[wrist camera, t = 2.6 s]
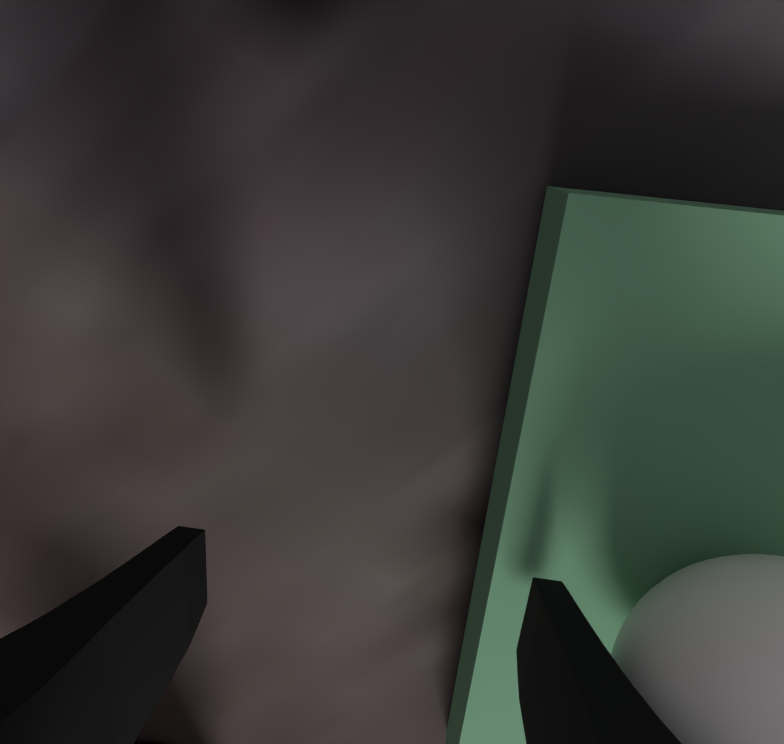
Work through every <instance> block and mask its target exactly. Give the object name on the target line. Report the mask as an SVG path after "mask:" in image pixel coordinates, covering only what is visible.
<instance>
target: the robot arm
mask: <svg viewBox="0 0 784 744" xmlns="http://www.w3.org/2000/svg"><path fill="white" fill-rule="evenodd" d="M206 605H207V578H206V545H205V530H202V529H195V528H188V527H181V526H178V527H176V528H175V529H173V530H172V531H170V532H169V533H167V534H166V535H165V536H163V537H162V538H160V539H159V540H157V541H156V542H155V543H153V544H152V545H150V546H149V547H148V548H146V549H145V550H143V551H142V552H140V553H139V554H138V555H136V556H135V557H133V558H132V559H130V560H129V561H128V562H126V563H125V564H123V565H122V566H120V567H119V568H117V569H116V570H114V571H113V572H111V573H110V574H108V575H107V576H106V577H104V578H103V579H101V580H100V581H98V582H97V583H95V584H93V585H92V586H90V587H89V588H87V589H85V590H84V591H82V592H81V593H79V594H77V595H76V596H74V597H73V598H71V599H69V600H68V601H66V602H65V603H63V604H61V605H60V606H58V607H57V608H55V609H53V610H52V611H50V612H48V613H47V614H45V615H43V616H41V617H40V618H38V619H36V620H34V621H32V622H31V623H29V624H27V625H25V626H23V627H22V628H20V629H18V630H16V631H14V632H12V633H10V634H8V635H6V636H4V637H3V638H1V639H0V744H134V742H135V741H136V739H137V737H138V735H139V734H140V732H141V730H142V728H143V727H144V725H145V723H146V721H147V720H148V718H149V716H150V714H151V713H152V711H153V709H154V707H155V706H156V704H157V702H158V700H159V699H160V697H161V695H162V693H163V692H164V690H165V688H166V686H167V685H168V683H169V681H170V679H171V678H172V676H173V674H174V672H175V671H176V669H177V667H178V665H179V663H180V662H181V660H182V658H183V656H184V655H185V653H186V651H187V649H188V647H189V645H190V643H191V640H192V638H193V636H194V634H195V631H196V629H197V627H198V624H199V622H200V619H201V617H202V614H203V612H204V609H205V607H206ZM516 654H517V675H518V691H519V702H520V708H521V715H522V721H523V727H524V733H525V739H526V744H682V743H681V742H680V741H679V740H678V739H677V738H676V737H675V736H674V734H673V733H672V732H671V731H670V730H669V729H668V728H667V727H666V725H665V724H664V723H663V722H662V721H661V720H660V718H659V717H658V716H657V715H656V714H655V712H654V711H653V710H652V709H651V707H650V706H649V705H648V704H647V702H646V701H645V700H644V698H643V697H642V696H641V695H640V693H639V692H638V691H637V690H636V688H635V687H634V686H633V684H632V683H631V682H630V680H629V679H628V678H627V676H626V675H625V674H624V672H623V671H622V670H621V668H620V667H619V665H618V664H617V663H616V661H615V660H614V658H613V657H612V656H611V654H610V653H609V651H608V650H607V649H606V647H605V646H604V644H603V643H602V641H601V640H600V638H599V637H598V636H597V634H596V633H595V631H594V630H593V628H592V626H591V625H590V623H589V622H588V620H587V619H586V617H585V616H584V614H583V613H582V611H581V610H580V608H579V607H578V605H577V603H576V602H575V600H574V599H573V597H572V596H571V594H570V592H569V591H568V589H567V588H566V586H565V585H564V584H563V582H562V581H556V580H549V579H542V578H535V577H533V579H532V583H531V588H530V592H529V596H528V601H527V605H526V610H525V614H524V618H523V623H522V627H521V631H520V636H519V640H518V645H517V649H516Z"/></svg>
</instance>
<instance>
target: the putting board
mask: <svg viewBox="0 0 784 744" xmlns="http://www.w3.org/2000/svg"><path fill="white" fill-rule="evenodd" d="M739 554H767V555H778V556H784V211H781V210H772V209H762V208H752V207H743V206H733V205H724V204H714V203H705V202H695V201H685V200H676V199H666V198H657V197H647V196H637V195H628V194H618V193H609V192H599V191H590V190H580V189H570V188H561V187H551V186H547V189H546V195H545V200H544V206H543V211H542V216H541V222H540V227H539V233H538V238H537V243H536V249H535V254H534V260H533V265H532V270H531V276H530V281H529V287H528V292H527V297H526V303H525V308H524V314H523V319H522V325H521V330H520V335H519V341H518V346H517V352H516V357H515V362H514V368H513V373H512V379H511V384H510V389H509V395H508V400H507V406H506V411H505V417H504V422H503V427H502V433H501V438H500V444H499V449H498V454H497V460H496V465H495V471H494V476H493V481H492V487H491V492H490V498H489V503H488V509H487V514H486V519H485V525H484V530H483V536H482V541H481V546H480V552H479V557H478V563H477V568H476V573H475V579H474V584H473V590H472V595H471V600H470V606H469V611H468V617H467V622H466V628H465V633H464V638H463V644H462V649H461V655H460V660H459V665H458V671H457V676H456V682H455V687H454V692H453V698H452V703H451V709H450V714H449V720H448V725H447V730H446V744H526V739H525V733H524V727H523V721H522V715H521V708H520V702H519V691H518V675H517V654H516V649H517V645H518V640H519V636H520V631H521V627H522V623H523V618H524V614H525V610H526V605H527V601H528V596H529V592H530V588H531V583H532V579H533V577H535V578H542V579H549V580H556V581H562V582H563V584H564V585H565V586H566V588H567V589H568V591H569V592H570V594H571V596H572V597H573V599H574V600H575V602H576V603H577V605H578V607H579V608H580V610H581V611H582V613H583V614H584V616H585V617H586V619H587V620H588V622H589V623H590V625H591V626H592V628H593V630H594V631H595V633H596V634H597V636H598V637H599V638H600V640H601V641H602V643H603V644H604V646H605V647H606V649H607V650H608V651H609V653H610V654H611V652H612V649H613V646H614V643H615V640H616V638H617V635H618V633H619V630H620V628H621V627H622V625H623V623H624V622H625V620H626V618H627V617H628V615H629V613H630V612H631V610H632V609H633V608H634V606H635V605H636V604H637V603H638V601H639V600H640V599H641V598H642V597H643V596H644V595H645V594H646V593H647V592H648V591H649V590H650V589H651V588H653V587H654V586H655V585H657V584H658V583H659V582H661V581H662V580H664V579H665V578H666V577H668V576H670V575H671V574H673V573H675V572H677V571H678V570H680V569H683V568H685V567H687V566H689V565H692V564H695V563H698V562H701V561H704V560H708V559H713V558H717V557H723V556H730V555H739Z"/></svg>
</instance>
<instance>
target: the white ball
mask: <svg viewBox="0 0 784 744" xmlns="http://www.w3.org/2000/svg"><path fill="white" fill-rule="evenodd" d="M611 656H612V657H613V658H614V660H615V661H616V663H617V664H618V665H619V667H620V668H621V670H622V671H623V672H624V674H625V675H626V676H627V678H628V679H629V680H630V682H631V683H632V684H633V686H634V687H635V688H636V690H637V691H638V692H639V693H640V695H641V696H642V697H643V698H644V700H645V701H646V702H647V704H648V705H649V706H650V707H651V709H652V710H653V711H654V712H655V714H656V715H657V716H658V717H659V718H660V720H661V721H662V722H663V723H664V724H665V725H666V727H667V728H668V729H669V730H670V731H671V732H672V733H673V734H674V736H675V737H676V738H677V739H678V740H679V741H680V742H681V743H682V744H784V556H778V555H767V554H739V555H730V556H723V557H717V558H713V559H708V560H704V561H701V562H698V563H695V564H692V565H689V566H687V567H685V568H683V569H680V570H678V571H677V572H675V573H673V574H671V575H670V576H668V577H666V578H665V579H664V580H662V581H661V582H659V583H658V584H657V585H655V586H654V587H653V588H651V589H650V590H649V591H648V592H647V593H646V594H645V595H644V596H643V597H642V598H641V599H640V600H639V601H638V603H637V604H636V605H635V606H634V608H633V609H632V610H631V612H630V613H629V615H628V617H627V618H626V620H625V622H624V623H623V625H622V627H621V628H620V630H619V633H618V635H617V638H616V640H615V643H614V646H613V649H612V652H611Z"/></svg>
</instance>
